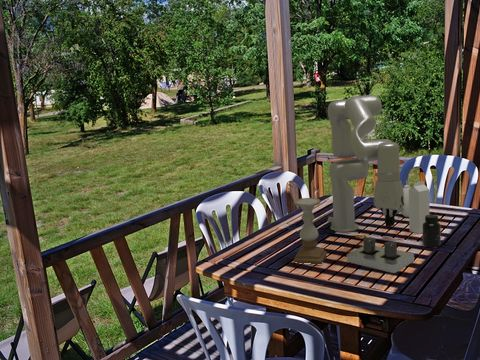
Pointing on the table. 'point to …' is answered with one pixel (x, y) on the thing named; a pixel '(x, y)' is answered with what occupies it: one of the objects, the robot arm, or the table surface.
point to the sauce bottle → (406, 200)
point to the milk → (418, 207)
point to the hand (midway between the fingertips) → (389, 225)
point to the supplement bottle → (431, 231)
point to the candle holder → (309, 234)
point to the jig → (379, 257)
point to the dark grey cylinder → (390, 250)
